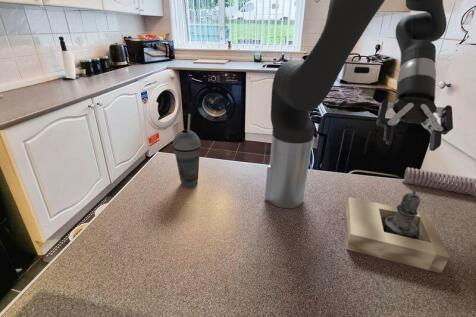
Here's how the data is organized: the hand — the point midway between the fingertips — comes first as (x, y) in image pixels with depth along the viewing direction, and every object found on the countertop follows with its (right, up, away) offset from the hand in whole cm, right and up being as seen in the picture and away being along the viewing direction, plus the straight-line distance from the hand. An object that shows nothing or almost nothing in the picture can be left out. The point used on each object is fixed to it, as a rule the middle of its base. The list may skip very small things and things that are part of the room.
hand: (410, 146), depth 57 cm
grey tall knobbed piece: (-4, -20, -1) cm, 20 cm away
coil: (+19, -11, +17) cm, 28 cm away
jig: (-6, -19, -2) cm, 21 cm away
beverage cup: (-51, -10, +16) cm, 54 cm away
